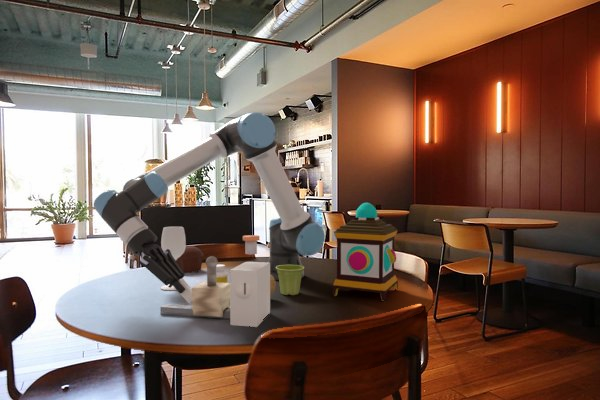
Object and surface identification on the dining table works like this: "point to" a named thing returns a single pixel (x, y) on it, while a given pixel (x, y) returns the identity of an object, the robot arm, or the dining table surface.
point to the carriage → (210, 293)
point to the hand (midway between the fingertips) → (193, 299)
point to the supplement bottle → (221, 274)
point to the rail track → (188, 311)
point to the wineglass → (173, 244)
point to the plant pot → (289, 278)
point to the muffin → (191, 260)
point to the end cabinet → (249, 293)
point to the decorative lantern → (366, 253)
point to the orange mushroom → (250, 244)
